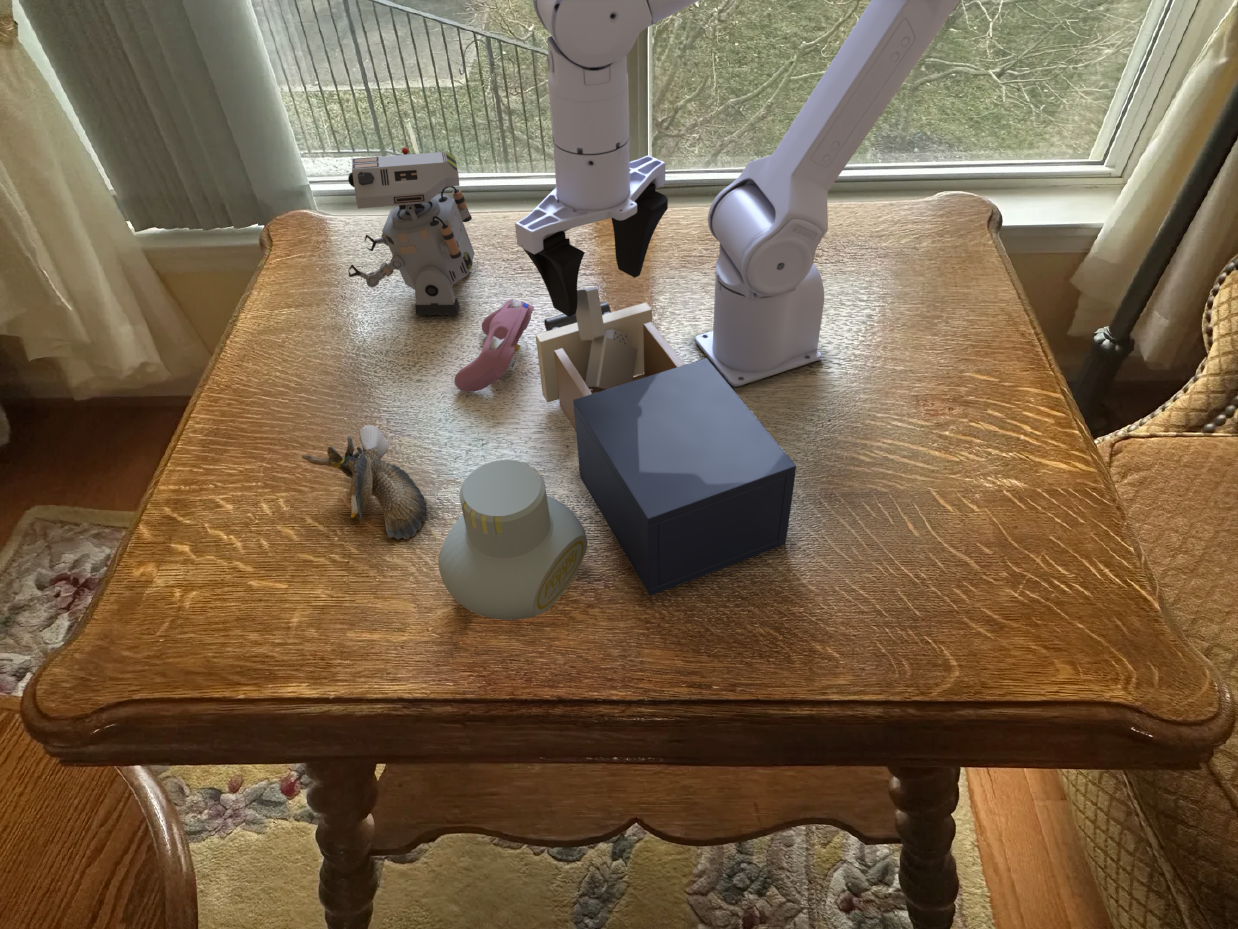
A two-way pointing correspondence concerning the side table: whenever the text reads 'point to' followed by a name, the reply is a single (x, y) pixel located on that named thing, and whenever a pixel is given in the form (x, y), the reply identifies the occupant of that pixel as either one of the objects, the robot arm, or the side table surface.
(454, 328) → the side table surface
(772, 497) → the cabinet
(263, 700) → the side table surface
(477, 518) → the air freshener
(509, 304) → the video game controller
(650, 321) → the drawer
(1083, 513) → the side table surface
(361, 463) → the eagle figurine
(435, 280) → the figurine
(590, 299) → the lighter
